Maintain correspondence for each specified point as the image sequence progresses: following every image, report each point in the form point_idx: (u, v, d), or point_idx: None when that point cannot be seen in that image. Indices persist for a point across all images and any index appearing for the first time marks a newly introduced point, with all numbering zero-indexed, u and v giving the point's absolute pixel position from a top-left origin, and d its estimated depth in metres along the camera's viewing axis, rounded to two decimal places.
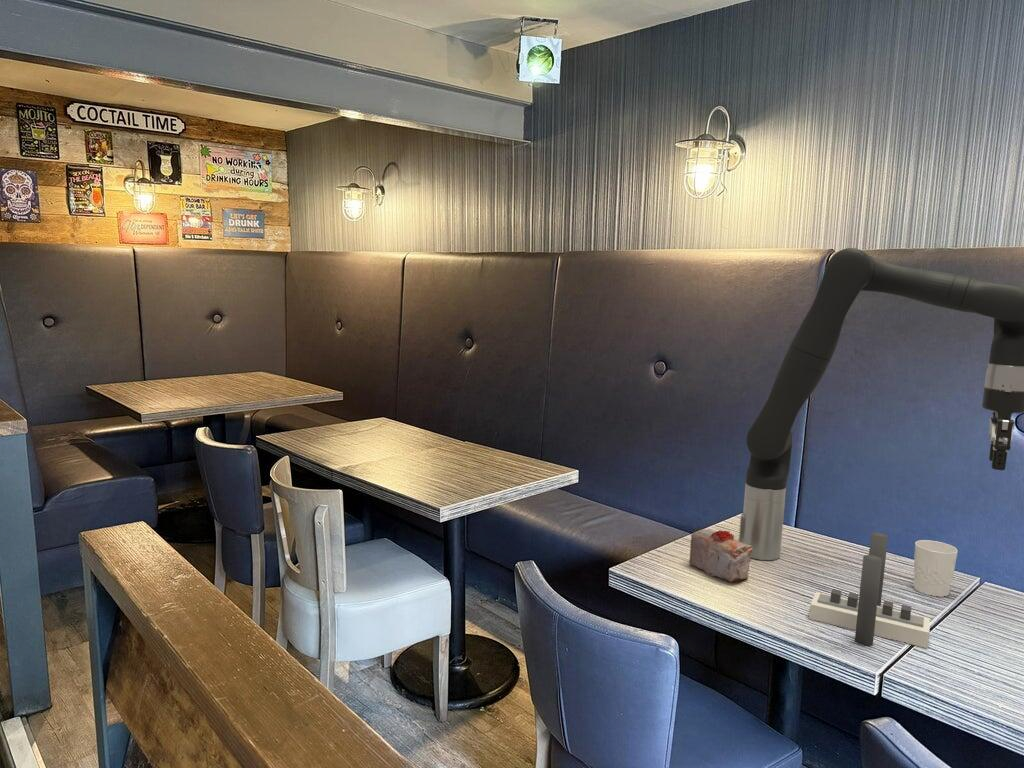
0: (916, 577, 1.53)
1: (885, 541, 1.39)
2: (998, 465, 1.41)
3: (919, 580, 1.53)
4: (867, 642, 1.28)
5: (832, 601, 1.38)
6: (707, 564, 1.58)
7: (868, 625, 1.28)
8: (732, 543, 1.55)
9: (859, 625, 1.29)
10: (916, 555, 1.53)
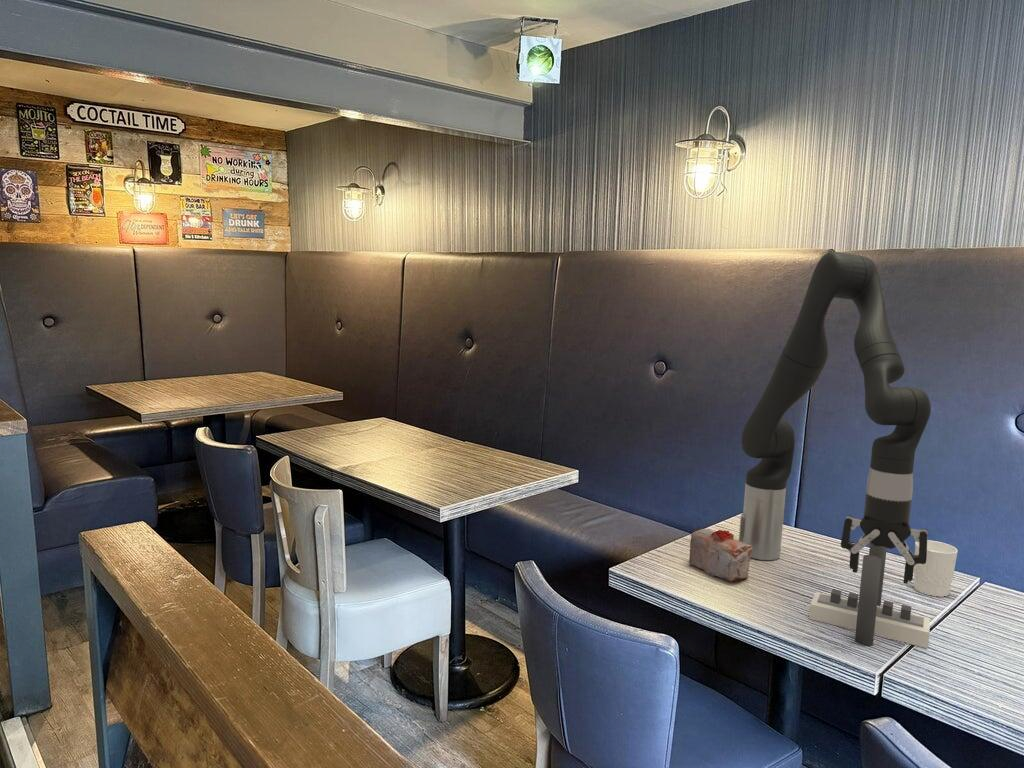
0: (916, 577, 1.53)
1: None
2: None
3: (919, 580, 1.53)
4: (867, 642, 1.28)
5: (832, 601, 1.38)
6: (707, 564, 1.58)
7: (868, 625, 1.28)
8: (732, 543, 1.55)
9: (859, 625, 1.29)
10: None
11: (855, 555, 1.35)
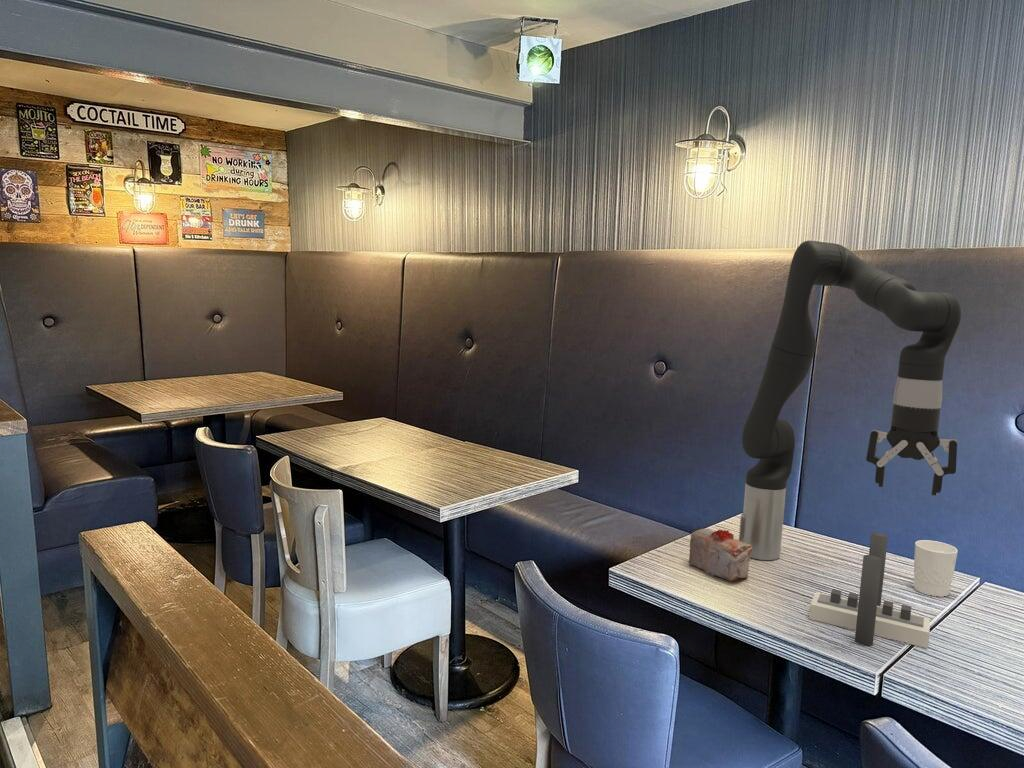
0: (916, 577, 1.53)
1: (885, 541, 1.39)
2: (940, 490, 1.27)
3: (919, 580, 1.53)
4: (867, 642, 1.28)
5: (832, 601, 1.38)
6: (707, 563, 1.58)
7: (868, 625, 1.28)
8: (732, 543, 1.56)
9: (859, 625, 1.29)
10: (916, 555, 1.53)
11: (881, 468, 1.31)
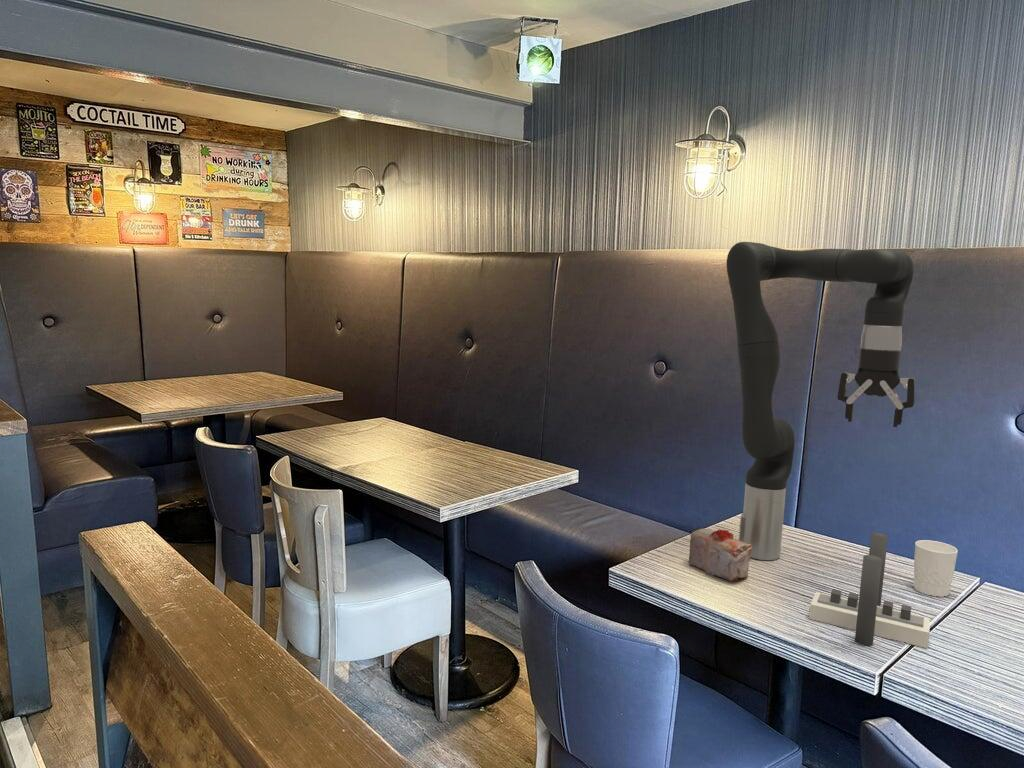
0: (916, 577, 1.53)
1: (885, 541, 1.39)
2: None
3: (919, 580, 1.53)
4: (867, 642, 1.28)
5: (832, 601, 1.38)
6: (707, 563, 1.58)
7: (868, 625, 1.28)
8: (732, 542, 1.56)
9: (859, 625, 1.29)
10: (916, 555, 1.53)
11: (850, 405, 1.50)
